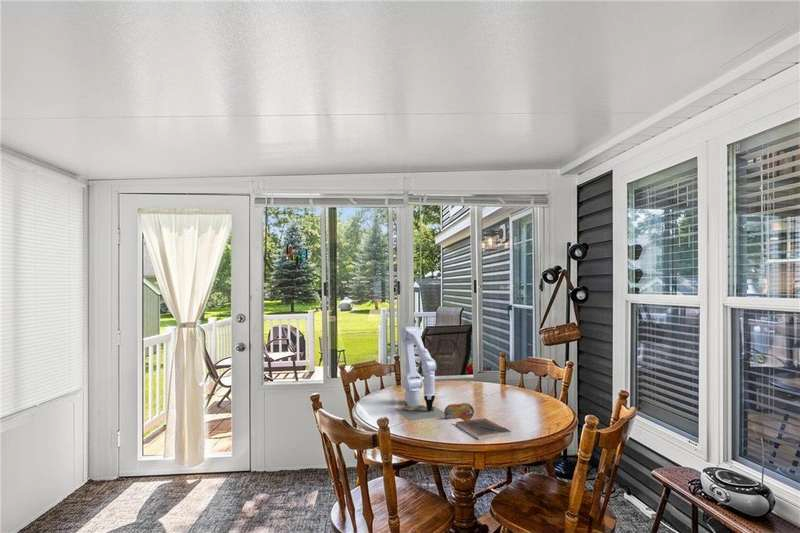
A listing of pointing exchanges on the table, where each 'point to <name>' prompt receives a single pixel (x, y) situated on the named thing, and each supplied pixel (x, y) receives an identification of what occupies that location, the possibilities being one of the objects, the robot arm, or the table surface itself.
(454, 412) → the tin
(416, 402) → the keeper
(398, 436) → the table surface
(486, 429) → the picture frame
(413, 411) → the board
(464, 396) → the table surface
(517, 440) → the table surface
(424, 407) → the link
